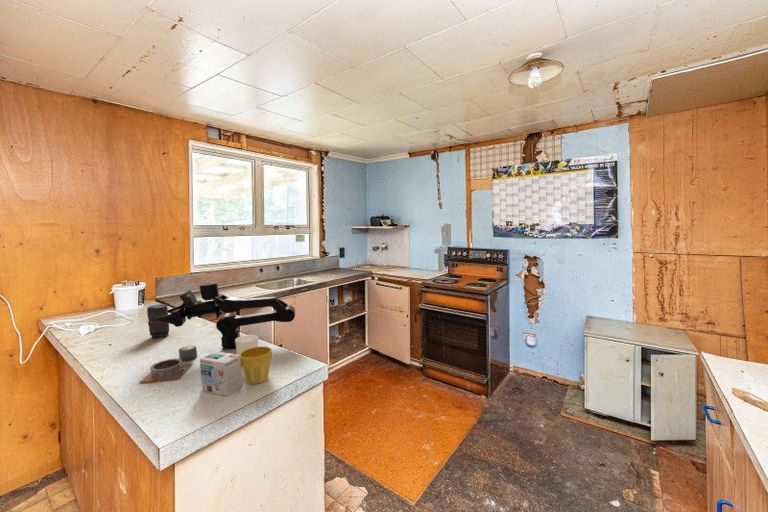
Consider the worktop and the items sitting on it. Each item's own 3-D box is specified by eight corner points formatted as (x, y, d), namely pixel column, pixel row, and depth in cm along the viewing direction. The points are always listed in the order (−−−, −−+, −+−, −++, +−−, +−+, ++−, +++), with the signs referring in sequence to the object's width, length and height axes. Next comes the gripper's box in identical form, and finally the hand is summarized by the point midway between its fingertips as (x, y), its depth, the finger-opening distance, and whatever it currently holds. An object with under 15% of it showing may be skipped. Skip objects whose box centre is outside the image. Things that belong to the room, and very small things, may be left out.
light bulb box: (201, 391, 104) (198, 358, 103) (218, 381, 110) (216, 350, 109) (226, 396, 100) (224, 363, 99) (243, 386, 106) (241, 354, 105)
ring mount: (192, 364, 124) (191, 356, 123) (178, 379, 112) (177, 370, 112) (157, 367, 122) (156, 359, 121) (139, 383, 110) (138, 373, 110)
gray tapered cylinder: (199, 354, 133) (198, 344, 133) (193, 360, 128) (192, 350, 127) (183, 356, 132) (182, 346, 132) (176, 362, 126) (175, 351, 126)
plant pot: (247, 373, 116) (245, 346, 115) (277, 371, 116) (275, 345, 115) (236, 388, 105) (234, 359, 104) (269, 386, 106) (267, 357, 105)
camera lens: (160, 340, 151) (156, 308, 150) (145, 339, 153) (142, 308, 151) (174, 334, 159) (171, 304, 158) (160, 333, 161) (157, 303, 159)
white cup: (237, 370, 118) (235, 343, 117) (236, 362, 125) (234, 336, 124) (260, 365, 122) (259, 339, 121) (258, 357, 129) (256, 333, 128)
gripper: (206, 284, 145) (167, 290, 141) (192, 296, 127) (147, 303, 124) (211, 308, 147) (173, 314, 144) (198, 323, 129) (154, 331, 126)
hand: (163, 315), depth 134 cm, fingers open, 9 cm apart
